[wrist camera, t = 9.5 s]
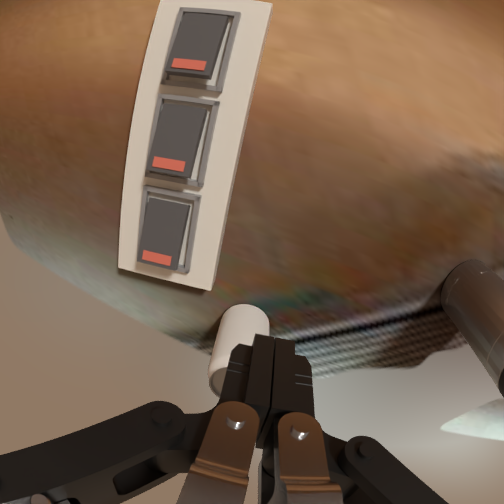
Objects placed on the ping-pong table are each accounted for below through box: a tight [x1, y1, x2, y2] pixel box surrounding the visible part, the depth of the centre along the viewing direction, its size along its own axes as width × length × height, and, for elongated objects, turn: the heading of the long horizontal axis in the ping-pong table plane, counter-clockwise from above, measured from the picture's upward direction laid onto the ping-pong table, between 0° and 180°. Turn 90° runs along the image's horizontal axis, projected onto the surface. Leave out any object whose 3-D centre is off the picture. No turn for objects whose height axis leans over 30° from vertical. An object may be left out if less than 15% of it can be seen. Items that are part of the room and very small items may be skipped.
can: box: [208, 304, 269, 398], centre depth 37 cm, size 6×6×12 cm
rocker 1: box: [165, 13, 229, 80], centre depth 25 cm, size 4×7×1 cm, turn 168°
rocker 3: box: [137, 197, 191, 271], centre depth 33 cm, size 4×7×1 cm, turn 168°
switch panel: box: [118, 0, 273, 291], centre depth 32 cm, size 12×33×4 cm, turn 168°
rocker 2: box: [146, 103, 208, 179], centre depth 29 cm, size 4×7×1 cm, turn 168°
